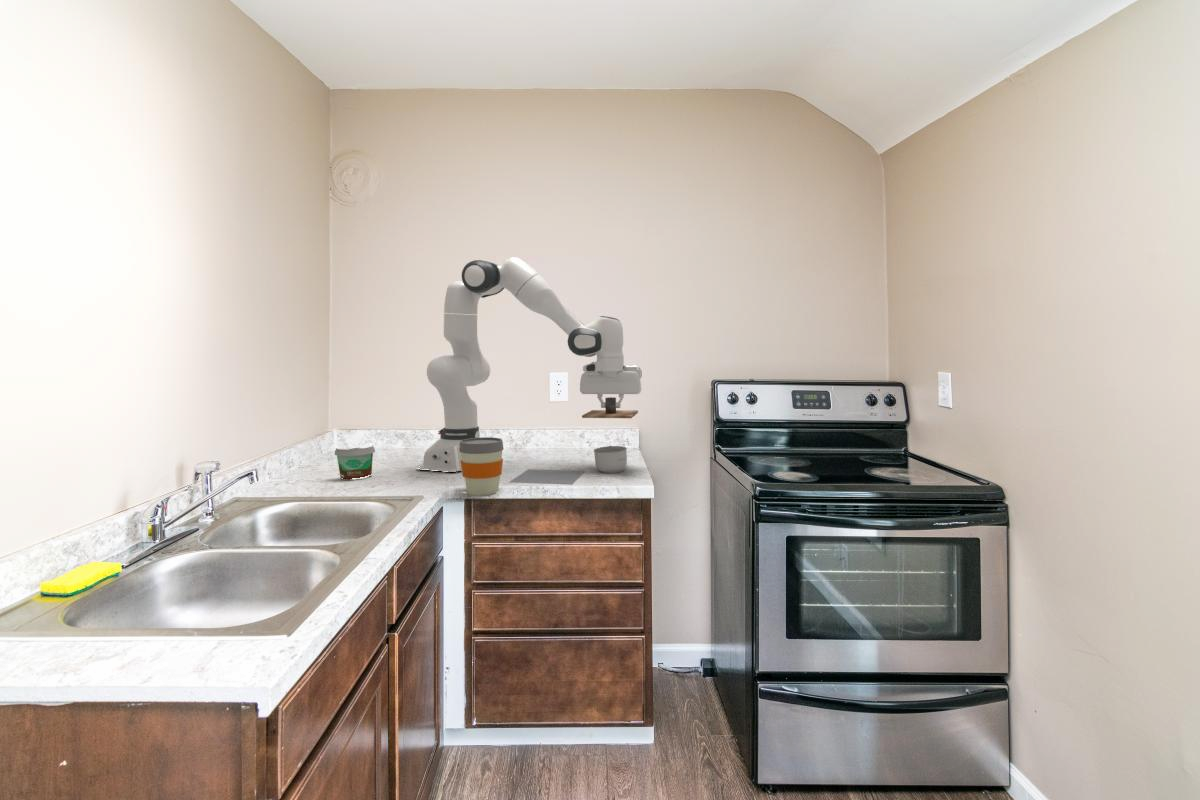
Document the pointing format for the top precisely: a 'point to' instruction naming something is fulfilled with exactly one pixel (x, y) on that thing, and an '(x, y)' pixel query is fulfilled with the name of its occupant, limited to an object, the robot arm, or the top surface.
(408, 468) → the top surface
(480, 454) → the reusable coffee cup
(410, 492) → the top surface
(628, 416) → the walnut lid
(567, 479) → the rubber mat
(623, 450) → the teacup
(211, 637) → the top surface
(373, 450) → the food container
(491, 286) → the robot arm
